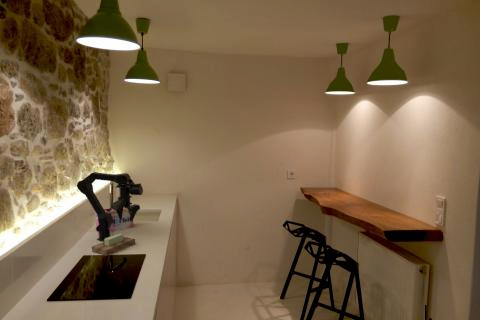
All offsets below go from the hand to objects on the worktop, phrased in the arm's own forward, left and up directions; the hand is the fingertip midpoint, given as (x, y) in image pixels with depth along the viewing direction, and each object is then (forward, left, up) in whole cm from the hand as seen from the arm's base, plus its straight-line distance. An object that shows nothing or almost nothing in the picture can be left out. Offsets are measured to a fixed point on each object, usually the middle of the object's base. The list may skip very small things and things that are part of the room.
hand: (126, 220), depth 207 cm
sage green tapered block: (+4, -13, -12) cm, 18 cm away
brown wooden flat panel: (+4, -13, -12) cm, 18 cm away
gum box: (-24, +11, -12) cm, 29 cm away
